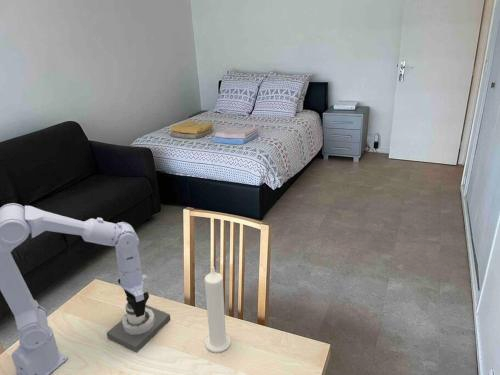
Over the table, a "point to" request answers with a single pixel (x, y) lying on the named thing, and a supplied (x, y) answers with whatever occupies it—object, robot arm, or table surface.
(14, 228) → the robot arm
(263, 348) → the table surface
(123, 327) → the camera body
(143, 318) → the lens
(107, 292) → the table surface
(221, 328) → the candle
